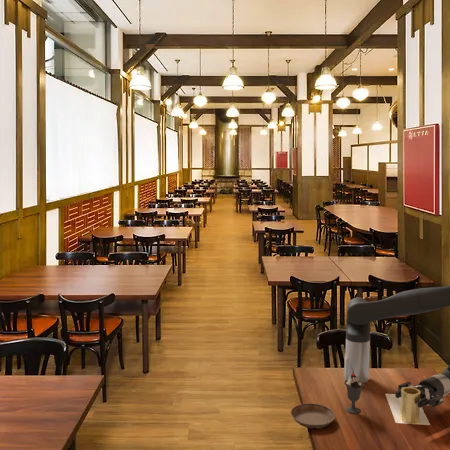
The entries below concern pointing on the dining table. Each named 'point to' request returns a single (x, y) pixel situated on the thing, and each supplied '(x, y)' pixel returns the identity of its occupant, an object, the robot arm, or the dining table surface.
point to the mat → (395, 409)
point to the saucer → (312, 415)
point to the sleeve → (410, 405)
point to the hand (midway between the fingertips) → (407, 399)
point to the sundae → (353, 392)
